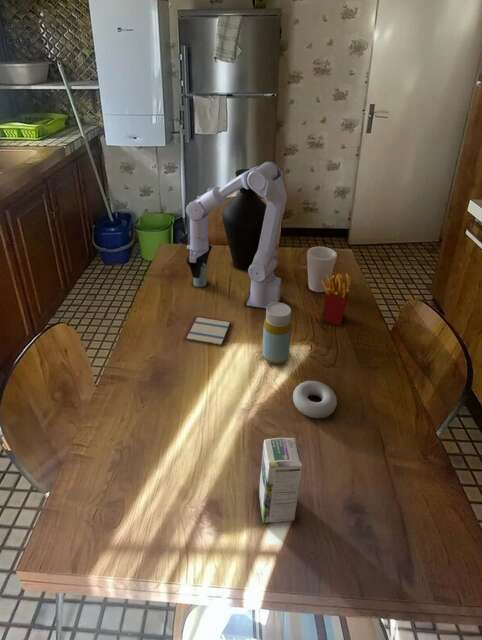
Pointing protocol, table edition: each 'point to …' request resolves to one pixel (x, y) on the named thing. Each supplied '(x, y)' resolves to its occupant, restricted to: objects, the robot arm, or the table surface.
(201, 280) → the pepper shaker
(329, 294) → the french fries
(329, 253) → the foam cup
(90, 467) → the table surface
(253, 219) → the vase
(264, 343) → the bottle
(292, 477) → the syrup box
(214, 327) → the dish cloth
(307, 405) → the donut
